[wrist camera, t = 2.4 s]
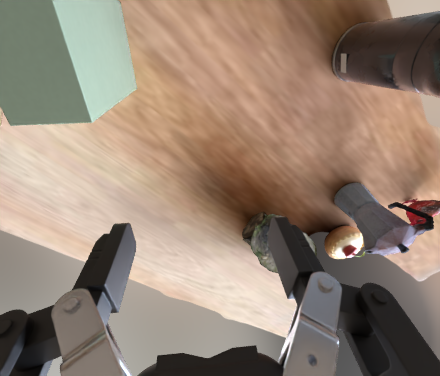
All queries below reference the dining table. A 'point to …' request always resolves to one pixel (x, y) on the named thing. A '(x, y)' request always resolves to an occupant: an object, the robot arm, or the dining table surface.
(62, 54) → the rest block
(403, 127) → the dining table surface
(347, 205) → the moka pot
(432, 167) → the dining table surface
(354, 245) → the pastry
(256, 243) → the hollow geode rock
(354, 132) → the dining table surface
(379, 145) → the dining table surface
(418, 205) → the decorative bird figurine
